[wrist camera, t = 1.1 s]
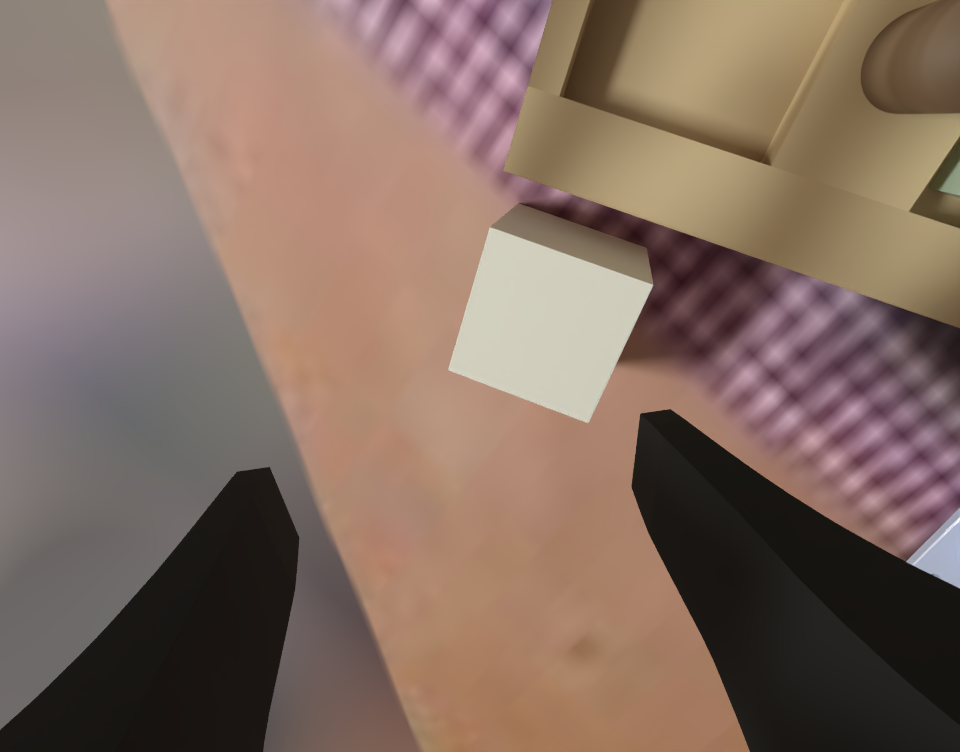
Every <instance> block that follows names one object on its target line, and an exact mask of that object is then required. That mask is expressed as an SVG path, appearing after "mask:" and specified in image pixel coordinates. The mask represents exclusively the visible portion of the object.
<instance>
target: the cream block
mask: <svg viewBox="0 0 960 752" xmlns="http://www.w3.org/2000/svg"><path fill="white" fill-rule="evenodd" d="M652 287H653V280H652V274H651V269H650V264H649V258H648V253H647V248H646V247H643V246H640V245H637V244H634V243H631V242H628V241H626V240H623V239H620V238H617V237H614V236H611V235H608V234H605V233H603V232H600V231H597V230H594V229H591V228H588V227H585V226H583V225H580V224H577V223H574V222H571V221H568V220H565V219H562V218H560V217H557V216H554V215H551V214H548V213H545V212H542V211H540V210H537V209H534V208H531V207H528V206H525V205H522V204H520V203H518V204H517V205H516V206H515V207H514V208H512V209H511V210H510V211H509V212H508V213H506V214H505V215H504V216H503V217H502V218H500V219H499V220H498V221H497V222H496V223H494V224H493V225H492V226H491V227H490V229H489V232H488V236H487V239H486V243H485V246H484V249H483V253H482V256H481V260H480V263H479V267H478V270H477V273H476V277H475V280H474V284H473V287H472V290H471V294H470V297H469V301H468V304H467V307H466V311H465V314H464V318H463V321H462V324H461V328H460V331H459V335H458V338H457V341H456V345H455V348H454V352H453V355H452V359H451V362H450V365H449V369H448V370H449V371H452V372H455V373H457V374H460V375H462V376H465V377H468V378H470V379H473V380H476V381H478V382H481V383H484V384H486V385H489V386H491V387H494V388H497V389H499V390H502V391H505V392H507V393H510V394H513V395H515V396H518V397H520V398H523V399H526V400H528V401H531V402H534V403H536V404H539V405H542V406H544V407H547V408H549V409H552V410H555V411H557V412H560V413H563V414H565V415H568V416H571V417H573V418H576V419H578V420H581V421H584V422H586V423H589V420H590V418H591V416H592V414H593V412H594V410H595V408H596V406H597V404H598V401H599V399H600V397H601V395H602V393H603V391H604V389H605V387H606V384H607V382H608V380H609V378H610V376H611V374H612V372H613V370H614V368H615V365H616V363H617V361H618V359H619V357H620V355H621V353H622V351H623V348H624V346H625V344H626V342H627V340H628V338H629V336H630V334H631V331H632V329H633V327H634V325H635V323H636V321H637V319H638V317H639V315H640V312H641V310H642V308H643V306H644V304H645V302H646V300H647V298H648V295H649V293H650V291H651V289H652Z"/></svg>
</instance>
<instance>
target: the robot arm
mask: <svg viewBox="0 0 960 752" xmlns="http://www.w3.org/2000/svg"><path fill="white" fill-rule="evenodd" d="M632 490H633V492H634V495H635V498H636V501H637V504H638V506H639V509H640V512H641V515H642V517H643V520H644V522H645V525H646V528H647V530H648V533H649V535H650V537H651V539H652V541H653V543H654V545H655V547H656V549H657V551H658V553H659V555H660V557H661V559H662V560H663V562H664V564H665V566H666V568H667V570H668V572H669V574H670V576H671V578H672V580H673V582H674V584H675V586H676V587H677V589H678V591H679V593H680V595H681V597H682V599H683V601H684V603H685V605H686V607H687V609H688V610H689V612H690V614H691V616H692V618H693V620H694V622H695V624H696V626H697V628H698V630H699V632H700V633H701V635H702V637H703V639H704V641H705V644H706V646H707V648H708V650H709V652H710V654H711V656H712V658H713V660H714V663H715V665H716V668H717V670H718V672H719V675H720V677H721V680H722V682H723V685H724V687H725V690H726V692H727V694H728V697H729V699H730V702H731V704H732V707H733V709H734V712H735V714H736V716H737V719H738V722H739V724H740V727H741V729H742V732H743V735H744V737H745V740H746V742H747V745H748V747H749V750H750V752H960V508H959V509H958V510H957V511H956V512H955V513H954V514H953V515H952V516H951V517H950V518H949V519H948V520H947V521H946V522H945V523H944V524H943V525H942V526H941V527H940V528H939V529H938V530H937V531H936V532H935V533H934V534H933V535H932V536H931V537H930V538H929V539H928V540H927V541H926V542H925V543H924V544H923V545H922V546H921V547H920V548H919V549H918V550H917V551H916V552H915V553H914V554H913V555H912V556H911V557H910V558H909V559H908V560H907V561H906V562H905V561H903V560H902V559H900V558H898V557H896V556H894V555H892V554H890V553H888V552H887V551H885V550H883V549H881V548H879V547H877V546H876V545H874V544H872V543H870V542H868V541H867V540H865V539H863V538H861V537H859V536H858V535H856V534H854V533H852V532H850V531H849V530H847V529H845V528H843V527H842V526H840V525H838V524H837V523H835V522H833V521H832V520H830V519H828V518H827V517H825V516H823V515H822V514H820V513H819V512H817V511H815V510H814V509H812V508H811V507H809V506H807V505H806V504H804V503H803V502H801V501H800V500H798V499H796V498H795V497H793V496H792V495H790V494H789V493H787V492H786V491H784V490H783V489H781V488H780V487H778V486H777V485H775V484H774V483H772V482H771V481H769V480H768V479H766V478H765V477H763V476H762V475H760V474H759V473H758V472H756V471H755V470H753V469H752V468H750V467H749V466H748V465H746V464H745V463H743V462H742V461H741V460H739V459H738V458H736V457H735V456H734V455H732V454H731V453H729V452H728V451H727V450H725V449H724V448H723V447H721V446H720V445H719V444H717V443H716V442H714V441H713V440H712V439H710V438H709V437H708V436H706V435H705V434H704V433H702V432H701V431H700V430H698V429H697V428H696V427H694V426H693V425H692V424H690V423H689V422H687V421H686V420H685V419H683V418H682V417H681V416H679V415H678V414H676V413H675V412H674V411H672V410H671V409H669V410H662V411H655V412H648V413H641V414H640V421H639V429H638V438H637V446H636V454H635V463H634V471H633V479H632ZM298 548H299V536H298V534H297V531H296V529H295V526H294V524H293V522H292V519H291V517H290V515H289V512H288V510H287V508H286V505H285V503H284V500H283V498H282V495H281V493H280V491H279V488H278V486H277V484H276V481H275V479H274V476H273V474H272V472H271V469H270V467H268V468H260V469H254V470H247V471H240V472H236V474H235V475H234V476H233V477H232V478H231V480H230V481H229V482H228V483H227V485H226V486H225V487H224V488H223V490H222V491H221V492H220V493H219V495H218V496H217V497H216V498H215V500H214V501H213V502H212V503H211V505H210V506H209V507H208V508H207V510H206V511H205V512H204V513H203V515H202V516H201V517H200V518H199V520H198V521H197V522H196V524H195V525H194V526H193V527H192V528H191V530H190V531H189V532H188V533H187V535H186V536H185V537H184V538H183V540H182V541H181V542H180V543H179V544H178V546H177V547H176V548H175V549H174V551H173V552H172V553H171V554H170V555H169V557H168V558H167V559H166V560H165V562H164V563H163V564H162V565H161V566H160V567H159V569H158V570H157V571H156V572H155V574H154V575H153V576H152V577H151V578H150V579H149V580H148V581H147V583H146V584H145V585H144V586H143V587H142V588H141V589H140V590H139V592H138V593H137V594H136V595H135V596H134V597H133V598H132V599H131V601H130V602H129V603H128V604H127V605H126V606H125V607H124V608H123V610H122V611H121V612H120V613H119V614H118V615H117V616H116V617H115V619H114V620H113V621H112V622H111V623H110V624H109V625H108V626H107V627H106V628H105V629H104V630H103V631H102V633H101V634H100V635H99V636H98V637H97V638H96V639H95V640H94V641H93V642H92V643H91V644H90V645H89V646H88V647H87V648H86V649H85V650H84V651H83V652H82V653H81V654H80V655H79V656H78V657H77V658H76V659H75V660H74V661H73V662H72V663H71V664H70V665H69V666H68V667H67V668H66V669H65V670H64V671H63V672H62V673H61V674H60V675H59V676H58V677H57V678H56V679H55V680H54V681H53V682H52V683H51V684H50V685H49V686H48V687H47V688H46V689H45V690H44V691H43V692H42V693H40V694H39V696H37V697H36V698H35V699H34V700H33V701H32V702H31V703H30V704H29V705H28V706H26V707H25V708H24V709H23V710H22V711H21V712H20V713H19V714H18V715H16V716H15V717H14V718H13V719H12V720H11V721H10V722H9V723H8V724H6V725H5V726H4V727H3V728H2V729H1V730H0V752H263V747H264V740H265V734H266V728H267V722H268V716H269V711H270V706H271V702H272V697H273V692H274V687H275V683H276V678H277V673H278V669H279V664H280V659H281V654H282V650H283V645H284V641H285V636H286V631H287V626H288V621H289V616H290V611H291V606H292V602H293V597H294V591H295V584H296V574H297V562H298ZM931 574H934V575H931Z"/></svg>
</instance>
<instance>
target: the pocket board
mask: <svg viewBox="0 0 960 752" xmlns="http://www.w3.org/2000/svg"><path fill="white" fill-rule="evenodd" d="M959 142H960V0H553V1H552V5H551V8H550V12H549V15H548V18H547V22H546V25H545V29H544V32H543V36H542V39H541V43H540V46H539V49H538V53H537V56H536V60H535V63H534V67H533V70H532V73H531V77H530V80H529V84H528V87H527V91H526V94H525V98H524V101H523V104H522V108H521V111H520V115H519V118H518V122H517V125H516V129H515V132H514V135H513V139H512V142H511V146H510V149H509V153H508V156H507V159H506V163H505V166H504V170H503V171H506V172H509V173H512V174H514V175H517V176H520V177H523V178H526V179H529V180H532V181H535V182H538V183H541V184H543V185H546V186H549V187H552V188H555V189H558V190H561V191H564V192H567V193H570V194H572V195H575V196H578V197H581V198H584V199H587V200H590V201H593V202H596V203H599V204H601V205H604V206H607V207H610V208H613V209H616V210H619V211H622V212H625V213H628V214H630V215H633V216H636V217H639V218H642V219H645V220H648V221H651V222H654V223H657V224H659V225H662V226H665V227H668V228H671V229H674V230H677V231H680V232H683V233H686V234H688V235H691V236H694V237H697V238H700V239H703V240H706V241H709V242H712V243H715V244H717V245H720V246H723V247H726V248H729V249H732V250H735V251H738V252H741V253H744V254H746V255H749V256H752V257H755V258H758V259H761V260H764V261H767V262H770V263H773V264H775V265H778V266H781V267H784V268H787V269H790V270H793V271H796V272H799V273H802V274H804V275H807V276H810V277H813V278H816V279H819V280H822V281H825V282H828V283H830V284H833V285H836V286H839V287H842V288H845V289H848V290H851V291H854V292H857V293H859V294H862V295H865V296H868V297H871V298H874V299H877V300H880V301H883V302H886V303H888V304H891V305H894V306H897V307H900V308H903V309H906V310H909V311H912V312H915V313H917V314H920V315H923V316H926V317H929V318H932V319H935V320H938V321H941V322H944V323H946V324H949V325H952V326H955V327H958V328H960V198H957V197H954V196H951V195H948V194H945V193H942V192H939V191H936V190H933V189H930V188H929V186H930V185H931V183H932V182H933V180H934V179H935V177H936V176H937V174H938V173H939V171H940V170H941V168H942V167H943V166H944V164H945V163H946V161H947V160H948V158H949V157H950V155H951V154H952V152H953V151H954V149H955V148H956V146H957V145H958V143H959Z"/></svg>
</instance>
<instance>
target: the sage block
mask: <svg viewBox="0 0 960 752" xmlns="http://www.w3.org/2000/svg"><path fill="white" fill-rule="evenodd" d="M929 188H930V189H933V190H936V191H939V192H942V193H945V194H948V195H951V196H954V197H957V198H960V142H959V143H958V145H957V146H956V148H955V149H954V151H953V152H952V154H951V155H950V157H949V158H948V160H947V161H946V163H945V164H944V166H943V167H942V168H941V170H940V171H939V173H938V174H937V176H936V177H935V179H934V180H933V182H932V183H931V185H930V186H929Z"/></svg>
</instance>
